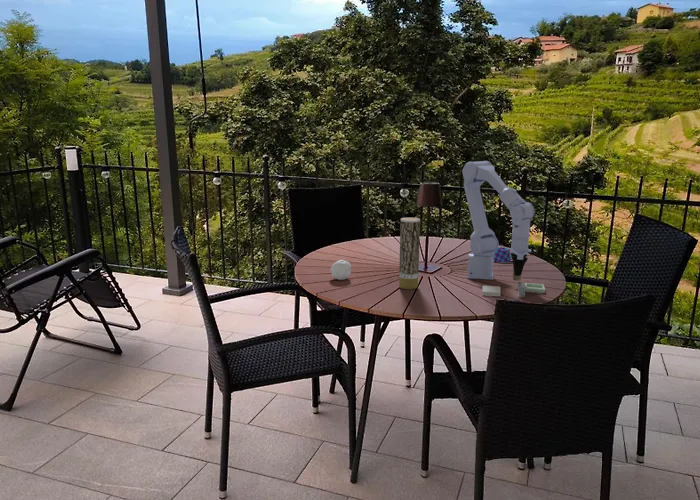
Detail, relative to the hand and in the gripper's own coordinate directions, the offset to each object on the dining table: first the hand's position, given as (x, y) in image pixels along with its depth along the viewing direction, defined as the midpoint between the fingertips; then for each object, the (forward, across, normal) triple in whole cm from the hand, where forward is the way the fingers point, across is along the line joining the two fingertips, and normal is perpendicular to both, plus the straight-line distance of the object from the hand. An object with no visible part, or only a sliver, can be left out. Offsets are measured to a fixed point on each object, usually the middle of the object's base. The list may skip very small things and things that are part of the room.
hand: (517, 274), depth 198 cm
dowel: (+2, 0, 0) cm, 2 cm away
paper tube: (+5, -9, +38) cm, 39 cm away
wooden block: (+5, -9, -1) cm, 10 cm away
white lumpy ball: (+6, -5, +64) cm, 64 cm away
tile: (+5, -9, +9) cm, 14 cm away
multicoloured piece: (+6, +39, +4) cm, 40 cm away
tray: (+5, -2, -6) cm, 8 cm away
